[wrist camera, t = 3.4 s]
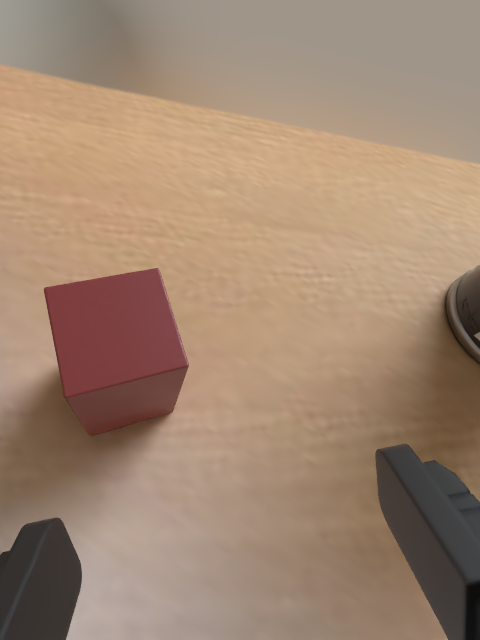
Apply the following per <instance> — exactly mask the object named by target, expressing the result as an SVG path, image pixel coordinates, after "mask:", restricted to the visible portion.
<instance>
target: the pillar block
mask: <svg viewBox="0 0 480 640" xmlns="http://www.w3.org/2000/svg"><path fill="white" fill-rule="evenodd" d="M44 293H45V298H46V303H47V309H48V314H49V319H50V324H51V330H52V335H53V340H54V345H55V351H56V356H57V361H58V366H59V371H60V377H61V382H62V387H63V392H64V397H65V399H66V400H67V402H68V403H69V405H70V406H71V408H72V410H73V411H74V413H75V414H76V416H77V417H78V419H79V420H80V422H81V424H82V425H83V427H84V428H85V430H86V431H87V433H88V434H89V436H93V435H96V434H99V433H103V432H106V431H109V430H113V429H116V428H120V427H123V426H126V425H130V424H133V423H137V422H140V421H143V420H147V419H150V418H154V417H157V416H160V415H164V414H167V413H170V412H173V410H174V407H175V404H176V401H177V398H178V395H179V392H180V389H181V386H182V384H183V381H184V378H185V375H186V372H187V369H188V366H189V364H188V361H187V358H186V354H185V351H184V348H183V345H182V341H181V338H180V335H179V332H178V328H177V325H176V322H175V319H174V315H173V312H172V309H171V306H170V302H169V299H168V296H167V293H166V289H165V286H164V283H163V280H162V276H161V273H160V270H159V268H155V269H149V270H143V271H138V272H132V273H126V274H120V275H115V276H109V277H103V278H97V279H92V280H86V281H80V282H74V283H69V284H63V285H57V286H51V287H46V288H44Z"/></svg>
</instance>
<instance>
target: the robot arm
mask: <svg viewBox="0 0 480 640" xmlns="http://www.w3.org/2000/svg"><path fill="white" fill-rule="evenodd" d="M446 309H447V315H448V319H449V322H450V325H451V327H452V330H453V332H454V334H455V335H456V337H457V339H458V340H459V342H460V343H461V345H462V346H463V347H464V348H465V349H466V351H467V352H468V353H469V354H470V355H471V356H472V357H473V358H475V359H476V360H477V361H478V362H480V265H478V266H477V267H476V268H474V269H472V270H470V271H468V272H467V273H465V274H464V275H462V276H461V277H460V278H458V279H457V280H456V281H455V282H454V283H453V284H452V286H451V287H450V289H449V291H448V295H447V300H446ZM376 468H377V482H378V495H379V501H380V505H381V509H382V512H383V515H384V517H385V520H386V522H387V524H388V526H389V528H390V530H391V532H392V533H393V535H394V537H395V539H396V541H397V543H398V545H399V547H400V549H401V550H402V552H403V554H404V556H405V558H406V560H407V562H408V564H409V566H410V567H411V569H412V571H413V573H414V575H415V577H416V579H417V581H418V583H419V585H420V586H421V588H422V590H423V592H424V594H425V596H426V598H427V600H428V602H429V603H430V605H431V607H432V609H433V611H434V613H435V615H436V617H437V619H438V620H439V622H440V624H441V626H442V628H443V630H444V632H445V634H446V636H447V637H448V639H449V640H480V502H479V501H478V500H477V499H476V498H475V496H474V495H473V494H472V495H471V493H470V491H469V489H468V488H467V487H466V486H465V485H464V483H463V482H462V481H461V480H460V479H459V477H458V476H457V475H456V474H455V473H454V472H452V471H451V470H449V469H447V468H446V467H444V466H443V465H441V464H439V463H438V462H436V461H435V460H434V461H429V462H424V463H422V462H421V460H420V459H419V458H418V456H417V455H416V454H415V452H414V451H413V450H412V449H411V447H410V446H409V445H407V444H401V445H397V446H392V447H387V448H382V449H378V450H376ZM81 581H82V570H81V563H80V560H79V558H78V555H77V553H76V551H75V549H74V546H73V544H72V542H71V540H70V537H69V535H68V533H67V530H66V528H65V526H64V524H63V522H62V520H61V519H60V518H53V519H48V520H43V521H38V522H33V523H29V524H26V525H24V526H23V527H22V529H21V530H20V532H19V534H18V536H17V538H16V540H15V542H14V544H13V546H12V548H11V550H10V551H7V552H3V553H2V554H1V555H0V640H66V637H67V634H68V630H69V627H70V623H71V620H72V616H73V613H74V609H75V606H76V602H77V599H78V595H79V592H80V588H81Z"/></svg>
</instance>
